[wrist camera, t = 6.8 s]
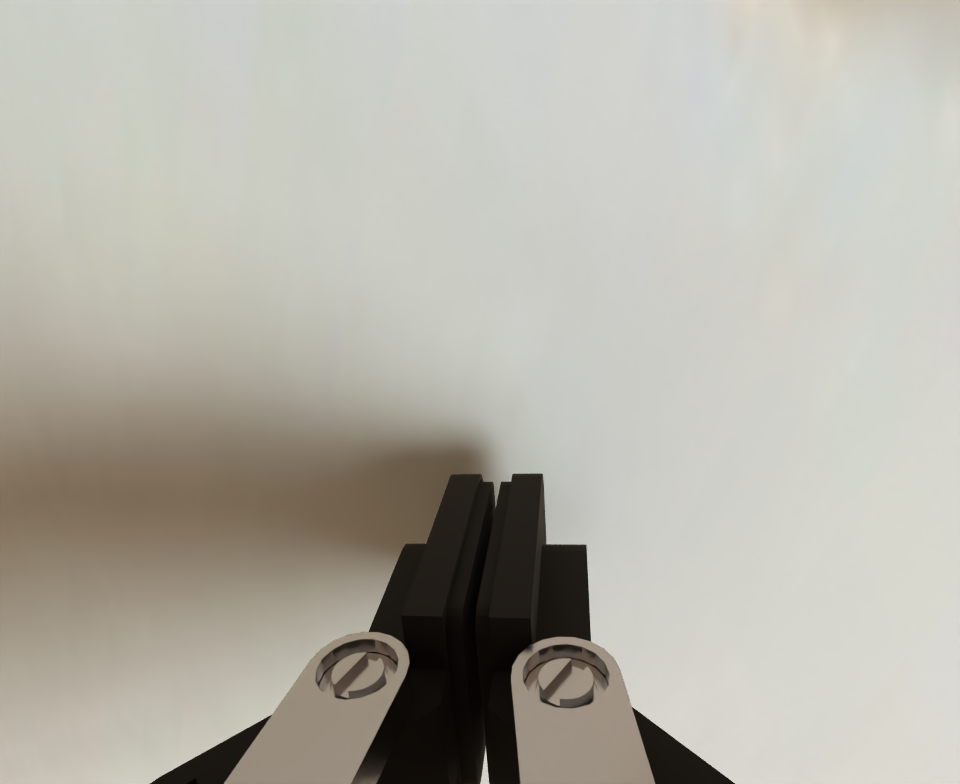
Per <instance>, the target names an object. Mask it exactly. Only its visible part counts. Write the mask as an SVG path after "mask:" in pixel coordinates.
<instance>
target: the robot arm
mask: <svg viewBox="0 0 960 784" xmlns="http://www.w3.org/2000/svg"><path fill="white" fill-rule="evenodd" d="M485 747H486V752H487V763H488V774H489V783H490V784H735V783H733V782H732V781H731V780H729V779H728V778H727V777H725V776H724V775H723V774H721V773H720V772H719V771H717V770H716V769H715V768H713V767H712V766H711V765H709V764H708V763H706V762H705V761H704V760H702V759H701V758H700V757H698V756H697V755H696V754H694V753H693V752H692V751H690V750H689V749H688V748H686V747H685V746H684V745H682V744H681V743H680V742H678V741H677V740H676V739H674V738H673V737H672V736H670V735H669V734H668V733H666V732H665V731H664V730H662V729H661V728H659V727H658V726H657V725H655V724H654V723H653V722H651V721H650V720H649V719H647V718H646V717H645V716H643V715H642V714H641V713H639V712H638V711H637V710H635V709H634V708H633V707H632V706H631V703H630V700H629V696H628V693H627V690H626V687H625V683H624V680H623V677H622V674H621V670H620V668H619V666H618V665H617V663H616V661H615V659H614V658H613V657H612V656H611V655H610V654H609V653H608V652H607V651H606V650H605V649H604V648H602V647H600V646H598V645H596V644H594V643H592V642H591V634H590V613H589V591H588V570H587V549H586V545H546V525H545V504H544V483H543V474H513V475H512V481H511V482H501V485H500V490H499V495H498V500H497V505H496V508H495V495H494V485H493V482H483V478H482V475H481V474H459V475H451V477H450V479H449V482H448V485H447V488H446V490H445V493H444V496H443V499H442V502H441V504H440V507H439V510H438V513H437V516H436V519H435V521H434V524H433V527H432V530H431V533H430V535H429V538H428V541H427V544H406V545H405V546H404V548H403V549H402V552H401V554H400V556H399V559H398V561H397V564H396V566H395V569H394V571H393V574H392V576H391V578H390V581H389V583H388V586H387V588H386V591H385V593H384V595H383V598H382V600H381V603H380V605H379V608H378V610H377V613H376V615H375V617H374V620H373V622H372V625H371V627H370V630H369V632H361V633H356V634H350V635H347V636H344V637H342V638H339V639H337V640H334V641H333V642H331V643H330V644H328V645H327V646H325V647H324V648H322V649H321V650H320V651H319V652H318V653H317V654H316V655H315V656H314V657H313V658H312V659H311V660H310V662H309V663H308V665H307V666H306V667H305V669H304V670H303V672H302V673H301V674H300V676H299V677H298V679H297V680H296V682H295V683H294V684H293V686H292V687H291V689H290V690H289V692H288V693H287V694H286V696H285V697H284V699H283V700H282V701H281V703H280V704H279V706H278V707H277V709H276V710H275V711H274V713H273V714H272V715H271V716H269V717H267V718H265V719H263V720H262V721H260V722H258V723H256V724H254V725H253V726H251V727H249V728H247V729H245V730H244V731H242V732H240V733H238V734H236V735H235V736H233V737H231V738H229V739H227V740H226V741H224V742H222V743H220V744H218V745H217V746H215V747H213V748H211V749H210V750H208V751H206V752H204V753H202V754H201V755H199V756H197V757H195V758H193V759H192V760H190V761H188V762H186V763H184V764H183V765H181V766H179V767H177V768H175V769H174V770H172V771H170V772H168V773H166V774H165V775H163V776H161V777H159V778H158V779H156V780H155V781H153V782H152V783H150V784H480V782H481V776H482V769H483V761H484V754H485Z"/></svg>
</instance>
